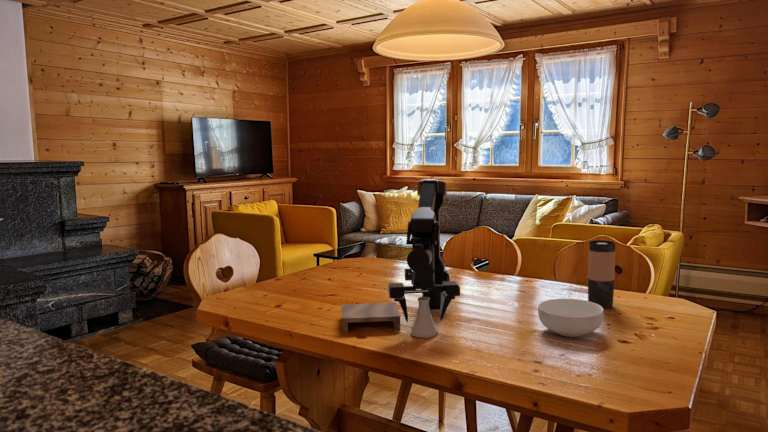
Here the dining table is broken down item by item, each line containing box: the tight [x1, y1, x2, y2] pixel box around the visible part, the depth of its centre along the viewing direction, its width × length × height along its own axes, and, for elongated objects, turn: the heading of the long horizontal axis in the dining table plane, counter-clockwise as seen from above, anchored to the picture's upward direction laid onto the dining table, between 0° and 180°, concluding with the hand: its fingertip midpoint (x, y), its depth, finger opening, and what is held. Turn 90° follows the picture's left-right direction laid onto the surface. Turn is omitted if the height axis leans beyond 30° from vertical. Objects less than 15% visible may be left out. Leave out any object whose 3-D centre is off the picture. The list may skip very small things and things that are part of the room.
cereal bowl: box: [537, 298, 605, 338], centre depth 153 cm, size 17×17×7 cm
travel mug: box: [587, 239, 616, 310], centre depth 176 cm, size 8×8×20 cm
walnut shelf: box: [341, 302, 401, 334], centre depth 163 cm, size 16×14×4 cm
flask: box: [410, 296, 438, 339], centre depth 153 cm, size 7×7×10 cm
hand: (423, 320), depth 153 cm, fingers open, 9 cm apart
